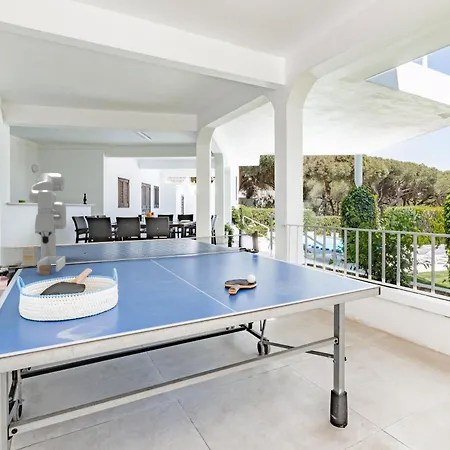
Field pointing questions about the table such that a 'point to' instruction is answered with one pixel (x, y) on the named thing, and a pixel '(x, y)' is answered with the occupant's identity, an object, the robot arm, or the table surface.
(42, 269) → the walnut block
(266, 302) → the table surface
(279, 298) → the table surface
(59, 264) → the frosted channel
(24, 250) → the supplement box
